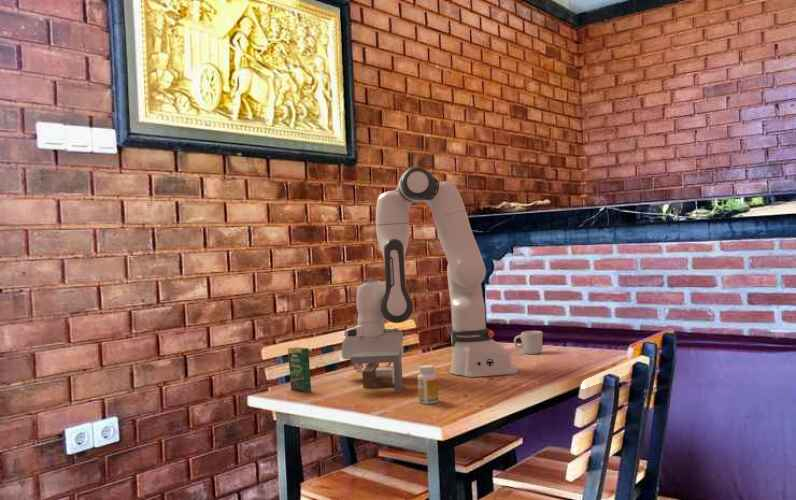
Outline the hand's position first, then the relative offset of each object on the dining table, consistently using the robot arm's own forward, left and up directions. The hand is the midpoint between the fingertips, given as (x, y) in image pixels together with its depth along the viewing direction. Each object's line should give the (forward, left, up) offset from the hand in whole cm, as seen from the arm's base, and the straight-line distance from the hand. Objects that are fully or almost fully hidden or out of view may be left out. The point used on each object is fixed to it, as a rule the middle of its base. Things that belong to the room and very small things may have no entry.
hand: (373, 371), depth 213 cm
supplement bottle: (-20, +36, -2) cm, 41 cm away
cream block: (-5, +10, -2) cm, 11 cm away
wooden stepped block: (-3, +6, -2) cm, 7 cm away
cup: (-54, -36, -2) cm, 65 cm away
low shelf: (-4, +20, -2) cm, 20 cm away
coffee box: (+21, +15, -2) cm, 26 cm away
